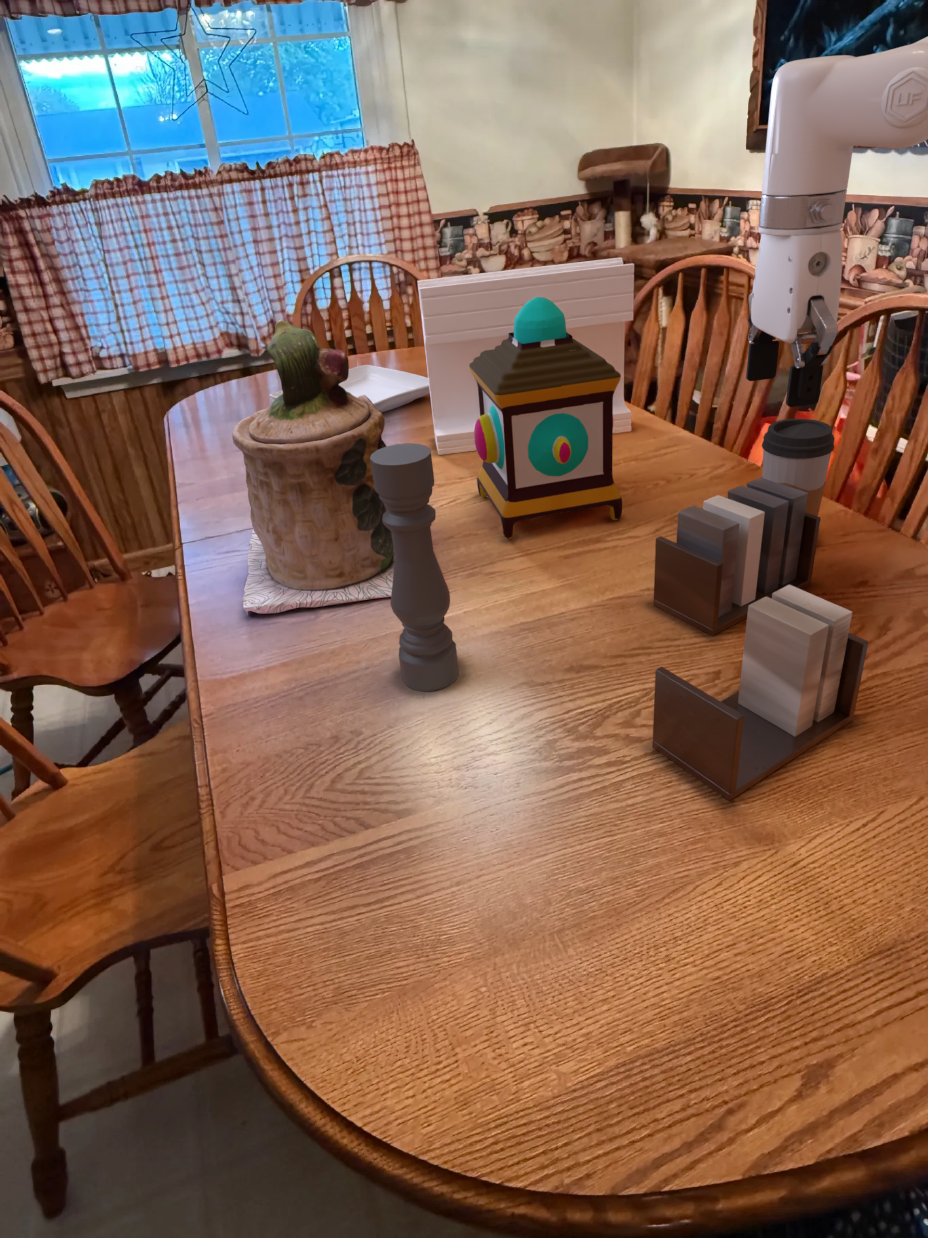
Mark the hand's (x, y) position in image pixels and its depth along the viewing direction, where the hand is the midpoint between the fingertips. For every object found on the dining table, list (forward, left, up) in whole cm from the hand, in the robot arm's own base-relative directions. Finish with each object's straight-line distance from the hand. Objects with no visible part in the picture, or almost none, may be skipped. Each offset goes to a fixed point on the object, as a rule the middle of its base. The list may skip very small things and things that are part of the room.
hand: (780, 391), depth 87 cm
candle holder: (+41, -10, -23) cm, 48 cm away
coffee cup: (-11, -5, -23) cm, 26 cm away
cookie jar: (+37, -41, -23) cm, 60 cm away
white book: (+6, 0, -22) cm, 23 cm away
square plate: (0, -107, -23) cm, 109 cm away
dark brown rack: (+23, +18, -23) cm, 37 cm away
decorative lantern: (+5, -35, -23) cm, 42 cm away
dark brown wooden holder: (+5, 0, -23) cm, 24 cm away
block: (-13, -62, -23) cm, 67 cm away
